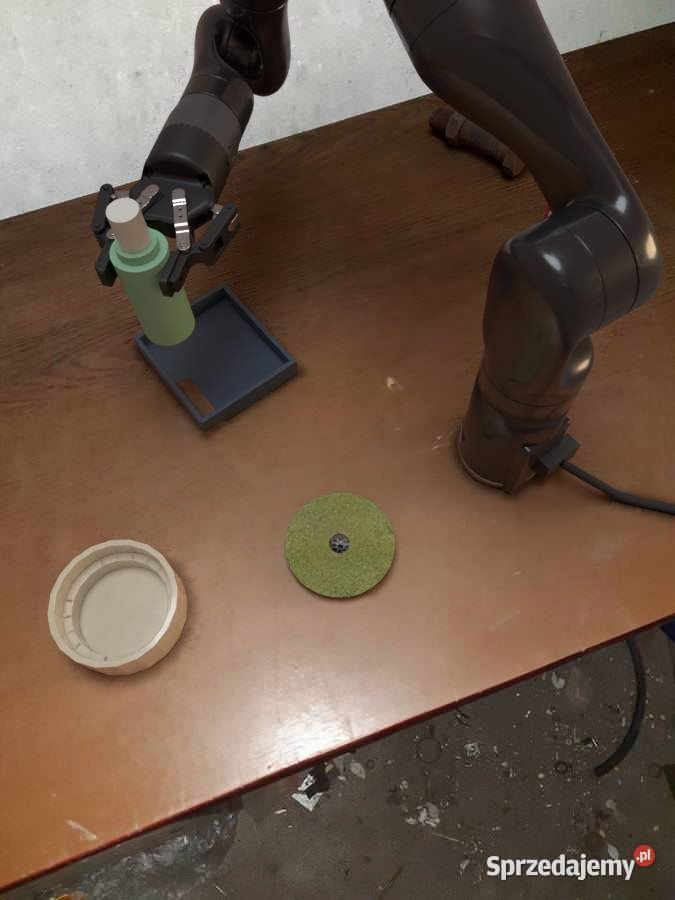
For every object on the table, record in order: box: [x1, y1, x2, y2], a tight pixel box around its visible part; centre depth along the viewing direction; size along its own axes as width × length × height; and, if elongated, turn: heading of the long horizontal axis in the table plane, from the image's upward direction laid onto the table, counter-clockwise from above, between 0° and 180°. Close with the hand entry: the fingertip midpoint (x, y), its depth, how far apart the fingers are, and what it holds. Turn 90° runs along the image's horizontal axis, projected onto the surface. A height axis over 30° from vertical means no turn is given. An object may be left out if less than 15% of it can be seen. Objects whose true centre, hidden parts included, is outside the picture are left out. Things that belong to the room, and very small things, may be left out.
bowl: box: [46, 539, 189, 676], centre depth 68 cm, size 12×12×5 cm
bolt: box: [427, 105, 525, 178], centre depth 97 cm, size 6×5×15 cm
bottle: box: [106, 198, 195, 346], centre depth 64 cm, size 5×5×16 cm
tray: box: [132, 282, 299, 433], centre depth 82 cm, size 15×13×2 cm
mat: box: [284, 492, 396, 598], centre depth 71 cm, size 11×11×2 cm
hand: (134, 285), depth 61 cm, fingers closed on bottle, 5 cm apart
